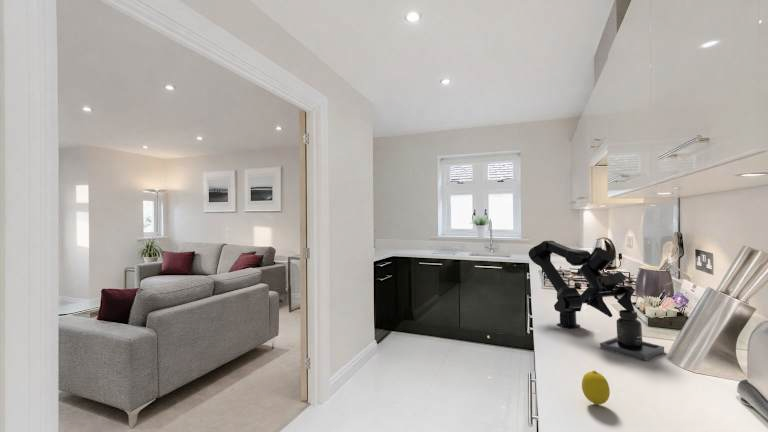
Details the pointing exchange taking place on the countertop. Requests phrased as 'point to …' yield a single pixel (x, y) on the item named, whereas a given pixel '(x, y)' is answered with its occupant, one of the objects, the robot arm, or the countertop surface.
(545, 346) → the countertop surface
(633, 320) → the supplement bottle
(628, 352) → the base plate
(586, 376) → the lemon
